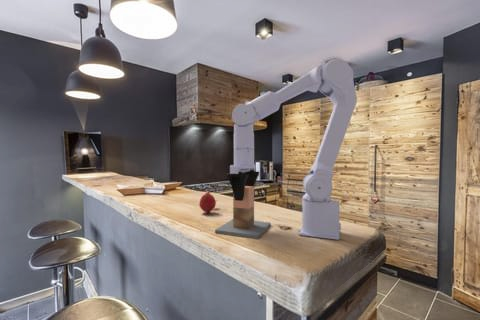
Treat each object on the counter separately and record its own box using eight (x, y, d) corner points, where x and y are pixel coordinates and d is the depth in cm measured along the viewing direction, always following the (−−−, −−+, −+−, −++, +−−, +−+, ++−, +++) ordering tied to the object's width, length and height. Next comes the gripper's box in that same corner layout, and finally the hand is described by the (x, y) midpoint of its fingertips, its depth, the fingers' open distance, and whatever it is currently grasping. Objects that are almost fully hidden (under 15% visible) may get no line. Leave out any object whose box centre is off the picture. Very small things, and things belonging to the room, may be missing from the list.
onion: (212, 215, 78) (212, 192, 78) (197, 214, 79) (197, 192, 79) (217, 211, 84) (217, 190, 84) (203, 211, 85) (203, 189, 85)
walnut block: (254, 224, 64) (254, 205, 64) (248, 229, 60) (248, 208, 60) (239, 223, 66) (239, 204, 66) (233, 227, 62) (233, 207, 62)
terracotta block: (254, 205, 64) (254, 186, 64) (248, 208, 60) (248, 188, 60) (239, 204, 66) (239, 185, 66) (233, 207, 62) (233, 187, 62)
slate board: (270, 225, 66) (270, 222, 66) (258, 238, 55) (258, 235, 55) (233, 221, 71) (233, 218, 71) (215, 232, 60) (215, 229, 60)
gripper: (240, 150, 71) (240, 193, 71) (219, 148, 58) (219, 201, 58) (261, 150, 69) (262, 194, 69) (244, 148, 55) (244, 203, 55)
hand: (244, 197), depth 63 cm, fingers open, 7 cm apart
